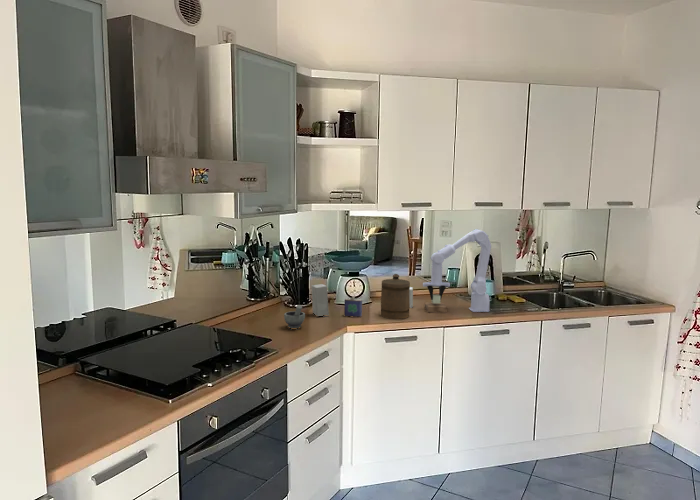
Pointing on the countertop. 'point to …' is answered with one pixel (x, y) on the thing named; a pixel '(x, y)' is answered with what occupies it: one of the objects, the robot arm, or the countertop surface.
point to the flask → (353, 307)
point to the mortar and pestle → (295, 317)
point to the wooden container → (395, 298)
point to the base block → (435, 307)
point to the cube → (436, 299)
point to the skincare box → (320, 300)
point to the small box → (411, 297)
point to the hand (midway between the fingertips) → (435, 299)
